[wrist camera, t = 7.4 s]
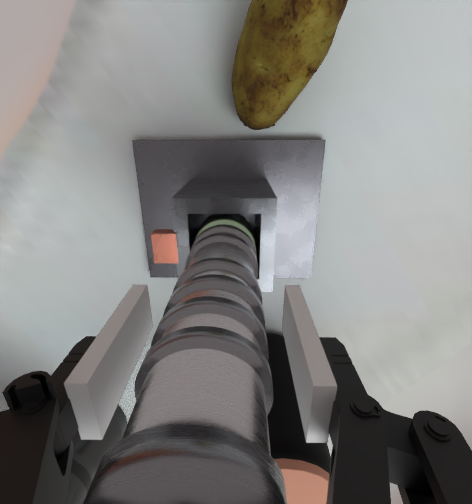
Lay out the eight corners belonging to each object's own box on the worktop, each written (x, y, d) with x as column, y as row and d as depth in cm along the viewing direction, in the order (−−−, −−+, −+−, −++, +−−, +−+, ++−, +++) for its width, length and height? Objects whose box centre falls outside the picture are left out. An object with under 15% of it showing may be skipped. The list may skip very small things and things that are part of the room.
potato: (198, 79, 29) (184, 61, 21) (293, -48, 25) (316, -123, 17) (258, 140, 31) (264, 143, 23) (354, 31, 27) (397, -7, 20)
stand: (152, 273, 37) (118, 328, 27) (135, 140, 31) (82, 144, 21) (308, 274, 37) (335, 330, 26) (323, 139, 31) (364, 143, 20)
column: (201, 257, 28) (96, 596, 8) (199, 207, 26) (47, 479, 6) (252, 257, 28) (285, 600, 8) (254, 207, 26) (301, 483, 6)
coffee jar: (228, 329, 40) (218, 468, 24) (304, 329, 40) (349, 469, 23) (230, 386, 44) (224, 538, 28) (299, 386, 44) (335, 539, 28)
